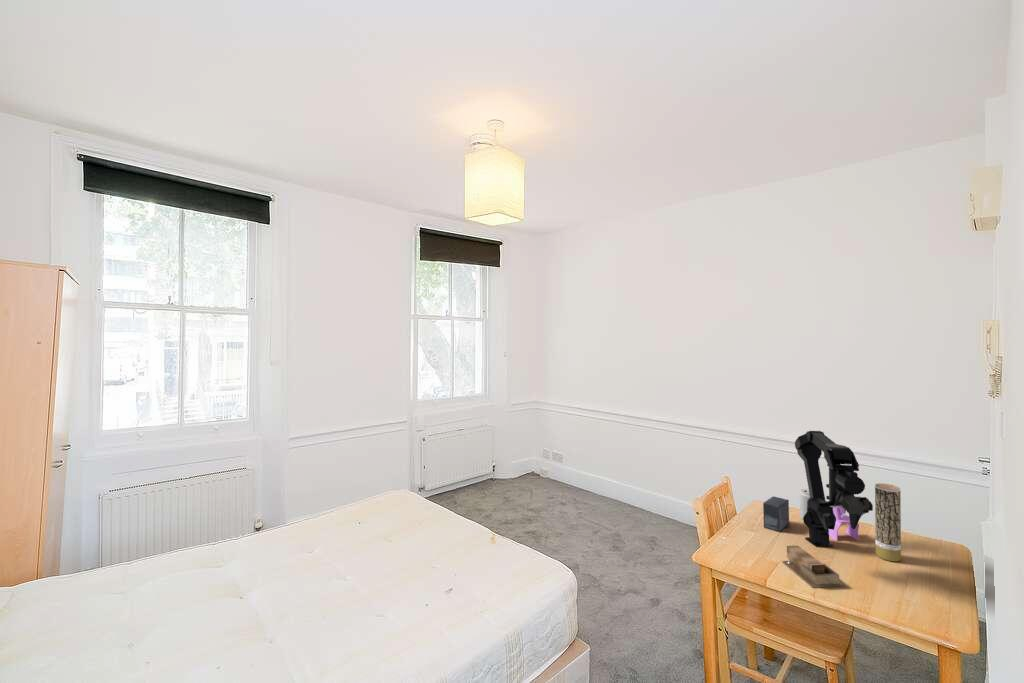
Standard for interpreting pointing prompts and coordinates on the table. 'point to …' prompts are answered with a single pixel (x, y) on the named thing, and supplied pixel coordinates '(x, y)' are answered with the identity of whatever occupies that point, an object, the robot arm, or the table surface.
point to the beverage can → (803, 501)
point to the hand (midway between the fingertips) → (839, 529)
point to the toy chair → (842, 519)
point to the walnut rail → (804, 559)
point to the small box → (776, 513)
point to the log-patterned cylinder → (888, 522)
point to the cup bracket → (815, 575)
